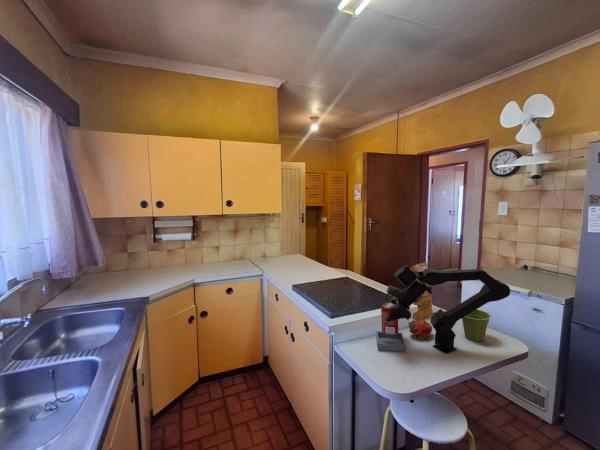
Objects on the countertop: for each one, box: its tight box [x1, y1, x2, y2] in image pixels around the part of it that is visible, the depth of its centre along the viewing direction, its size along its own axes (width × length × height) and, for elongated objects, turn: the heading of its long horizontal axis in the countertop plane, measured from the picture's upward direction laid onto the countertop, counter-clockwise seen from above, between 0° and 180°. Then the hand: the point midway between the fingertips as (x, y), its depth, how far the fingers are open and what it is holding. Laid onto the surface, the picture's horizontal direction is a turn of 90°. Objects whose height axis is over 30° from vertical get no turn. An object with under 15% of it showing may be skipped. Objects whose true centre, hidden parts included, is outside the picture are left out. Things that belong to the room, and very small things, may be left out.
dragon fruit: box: [409, 319, 433, 340], centre depth 125 cm, size 8×8×12 cm
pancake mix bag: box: [409, 261, 434, 321], centre depth 146 cm, size 7×19×28 cm, turn 123°
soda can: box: [380, 302, 399, 335], centre depth 118 cm, size 7×7×12 cm
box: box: [375, 330, 407, 354], centre depth 118 cm, size 11×11×3 cm
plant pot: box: [461, 308, 492, 343], centre depth 121 cm, size 12×12×11 cm
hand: (386, 317), depth 118 cm, fingers closed on soda can, 6 cm apart
